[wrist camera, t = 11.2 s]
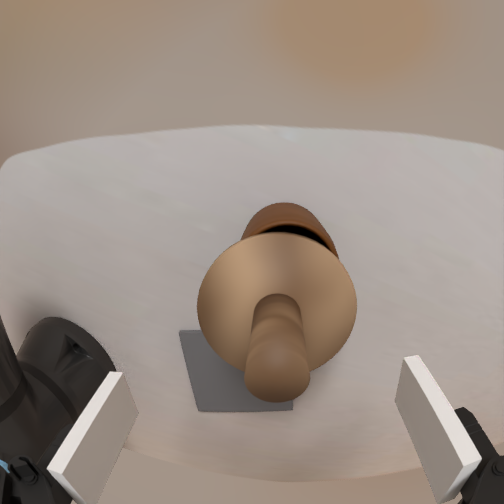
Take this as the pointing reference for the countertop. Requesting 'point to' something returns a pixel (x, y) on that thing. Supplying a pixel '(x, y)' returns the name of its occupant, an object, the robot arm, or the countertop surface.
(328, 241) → the mug
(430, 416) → the robot arm
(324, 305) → the lid
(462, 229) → the countertop surface
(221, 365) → the mat
